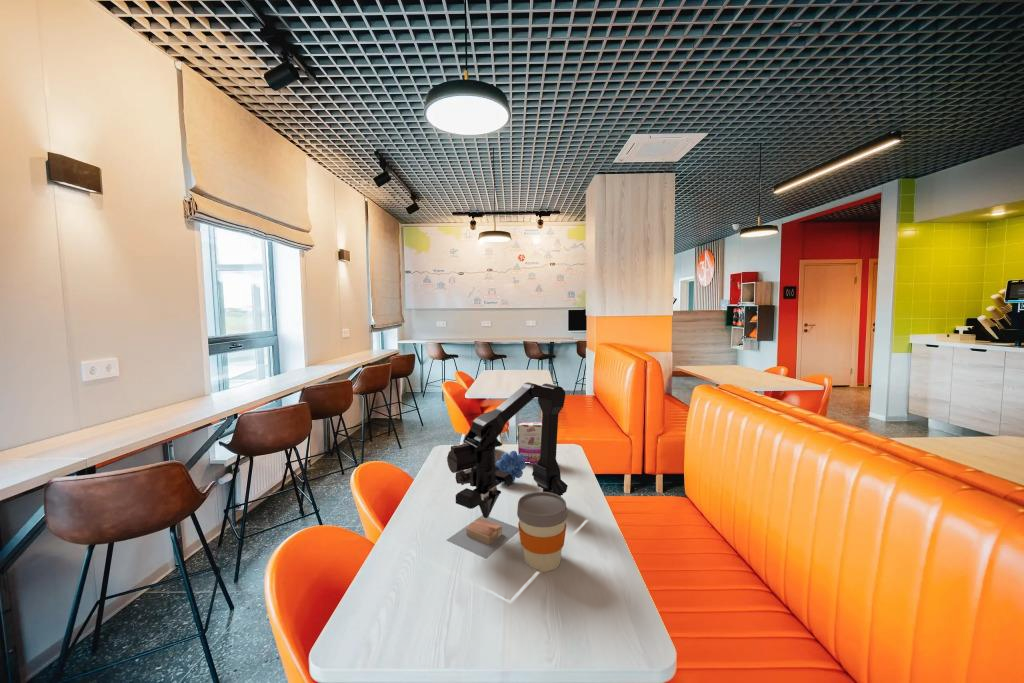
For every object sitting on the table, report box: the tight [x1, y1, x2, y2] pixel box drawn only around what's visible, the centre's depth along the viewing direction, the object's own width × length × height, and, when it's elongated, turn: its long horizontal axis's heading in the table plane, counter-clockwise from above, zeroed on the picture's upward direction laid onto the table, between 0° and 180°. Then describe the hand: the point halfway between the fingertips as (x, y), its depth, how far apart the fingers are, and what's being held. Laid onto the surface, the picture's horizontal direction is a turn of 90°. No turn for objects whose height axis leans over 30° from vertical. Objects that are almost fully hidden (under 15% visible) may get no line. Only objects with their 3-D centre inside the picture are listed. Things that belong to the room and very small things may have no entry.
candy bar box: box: [517, 421, 542, 463], centre depth 161 cm, size 11×5×16 cm, turn 80°
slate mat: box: [446, 514, 519, 559], centre depth 110 cm, size 16×14×1 cm
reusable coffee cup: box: [516, 491, 568, 572], centre depth 99 cm, size 12×13×15 cm
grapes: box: [495, 450, 527, 484], centre depth 143 cm, size 12×7×12 cm, turn 96°
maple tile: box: [465, 517, 502, 545], centre depth 110 cm, size 2×8×6 cm
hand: (485, 517), depth 110 cm, fingers closed
